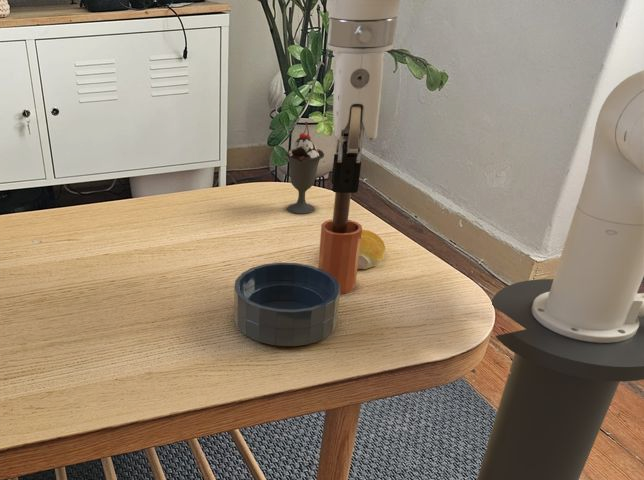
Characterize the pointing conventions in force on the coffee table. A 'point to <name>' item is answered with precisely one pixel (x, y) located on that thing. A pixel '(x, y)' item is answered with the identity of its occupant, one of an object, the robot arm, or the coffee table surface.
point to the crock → (340, 253)
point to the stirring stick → (341, 212)
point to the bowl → (286, 303)
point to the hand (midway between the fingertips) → (344, 187)
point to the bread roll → (370, 250)
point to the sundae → (303, 170)
